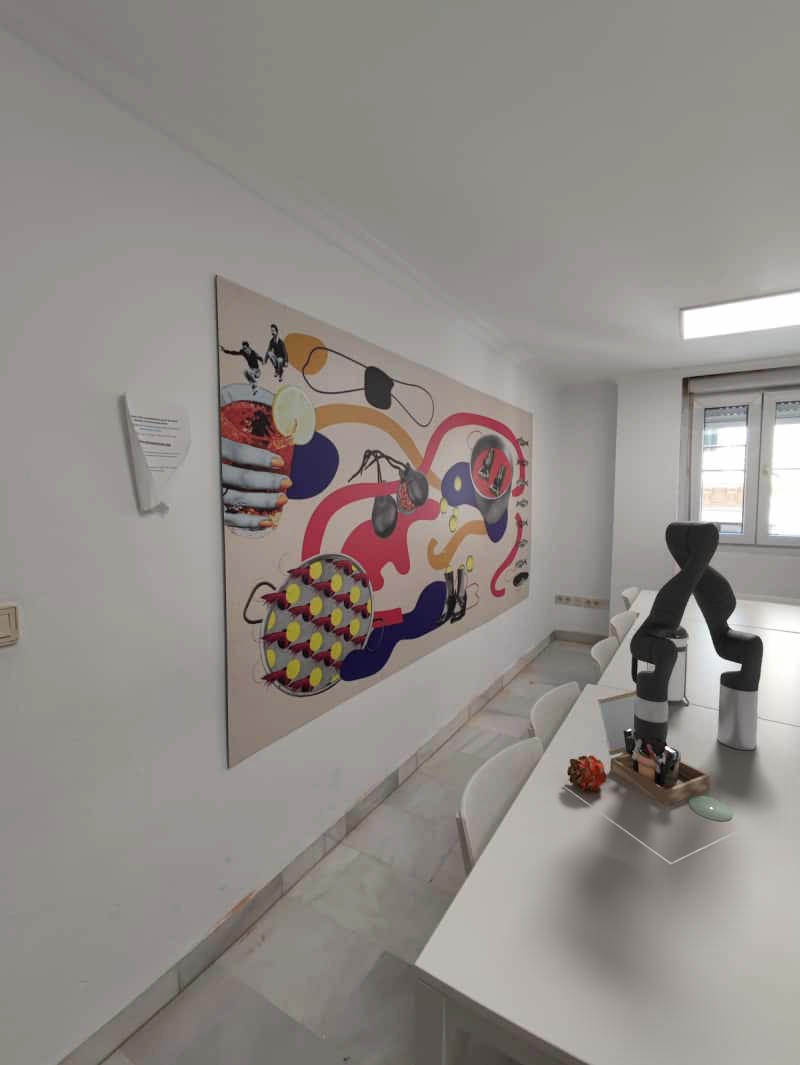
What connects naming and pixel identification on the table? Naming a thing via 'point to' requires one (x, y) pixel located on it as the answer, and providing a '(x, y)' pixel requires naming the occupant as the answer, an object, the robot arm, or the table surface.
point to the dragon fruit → (587, 773)
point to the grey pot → (676, 771)
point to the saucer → (710, 808)
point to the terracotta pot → (646, 765)
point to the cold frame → (672, 790)
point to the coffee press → (679, 671)
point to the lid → (617, 719)
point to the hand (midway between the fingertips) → (648, 779)
